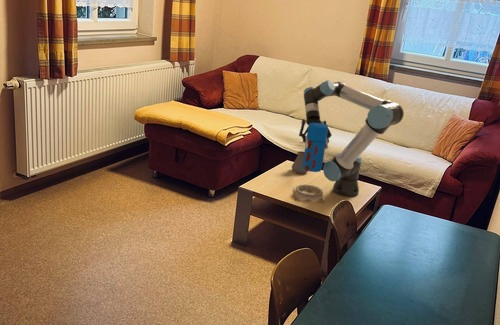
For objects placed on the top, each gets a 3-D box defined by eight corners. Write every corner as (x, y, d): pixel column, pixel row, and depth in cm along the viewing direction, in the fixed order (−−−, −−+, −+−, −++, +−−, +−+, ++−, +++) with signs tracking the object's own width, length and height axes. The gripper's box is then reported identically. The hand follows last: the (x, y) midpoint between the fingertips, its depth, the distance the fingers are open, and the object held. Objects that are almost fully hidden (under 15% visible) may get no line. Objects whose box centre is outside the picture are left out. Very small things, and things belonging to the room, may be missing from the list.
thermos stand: (321, 192, 283) (322, 186, 282) (324, 203, 268) (325, 196, 267) (293, 189, 283) (294, 183, 282) (295, 199, 268) (296, 193, 267)
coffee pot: (289, 168, 319) (292, 146, 314) (307, 169, 320) (310, 147, 315) (294, 179, 298) (297, 156, 294) (313, 181, 300) (316, 158, 295)
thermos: (311, 164, 278) (318, 122, 270) (325, 170, 271) (332, 127, 262) (298, 166, 271) (304, 123, 263) (312, 173, 264) (318, 128, 256)
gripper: (329, 117, 279) (334, 151, 270) (290, 115, 274) (294, 150, 265) (334, 110, 272) (339, 145, 263) (294, 108, 268) (298, 143, 258)
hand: (316, 147), depth 264 cm, fingers closed on thermos, 11 cm apart
